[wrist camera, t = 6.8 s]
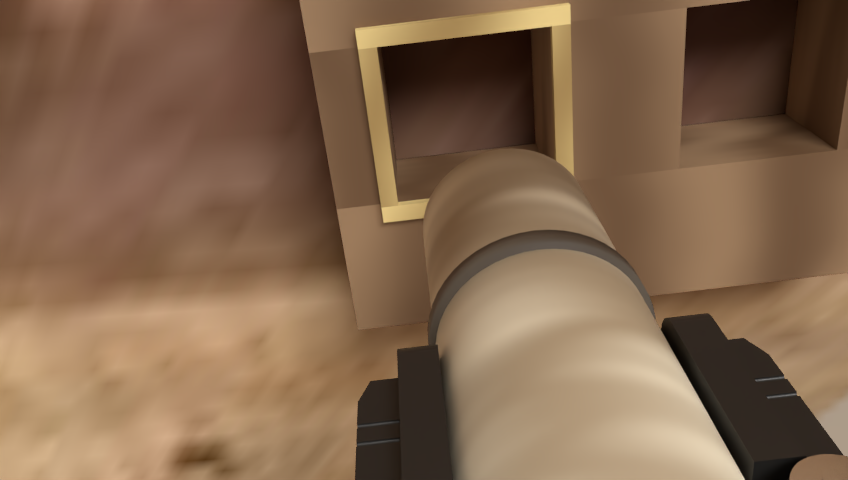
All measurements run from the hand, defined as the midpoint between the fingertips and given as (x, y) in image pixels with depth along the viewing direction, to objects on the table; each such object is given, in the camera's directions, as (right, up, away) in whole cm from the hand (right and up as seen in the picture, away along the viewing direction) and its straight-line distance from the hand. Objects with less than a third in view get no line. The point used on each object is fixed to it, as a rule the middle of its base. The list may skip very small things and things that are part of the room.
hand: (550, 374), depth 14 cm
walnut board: (+4, +9, +16) cm, 19 cm away
